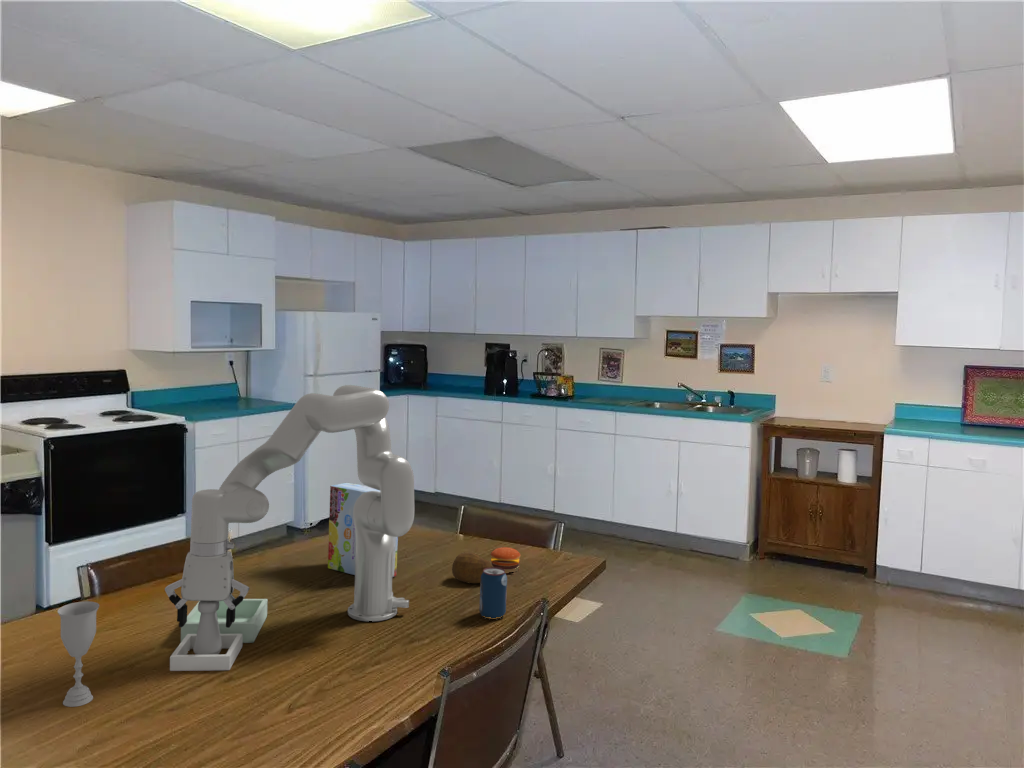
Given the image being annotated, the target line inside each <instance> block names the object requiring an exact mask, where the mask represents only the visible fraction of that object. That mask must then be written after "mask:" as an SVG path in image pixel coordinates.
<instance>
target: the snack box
mask: <svg viewBox="0 0 1024 768" xmlns="http://www.w3.org/2000/svg"><path fill="white" fill-rule="evenodd" d="M329 488H330V490H329V492H330V493H329V494H330V495H329V517H328V519H329V520H328V548H327V549H328V551H327V553H328V554H327V555H328V556H327V569H329V570H334V571H338V572H341V573H345V574H350V575H354V576H355V560H356V531H355V524H354V517H353V509H354V505H355V502H356V500H357V499H358V498H359V496H361V495H362V494H363V493H366V492H369V491H378V492H380V490H377V489H374V488H371V487H368V486H366V485H364V484H357V483H351V482H345V483H338V484H331V485H330V487H329ZM392 538H393V572H392V578H394V577H397V572H398V571H397V570H398V568H397V567H398V565H397V564H398V543H399V542H398V541H399V537H392Z"/></svg>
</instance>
